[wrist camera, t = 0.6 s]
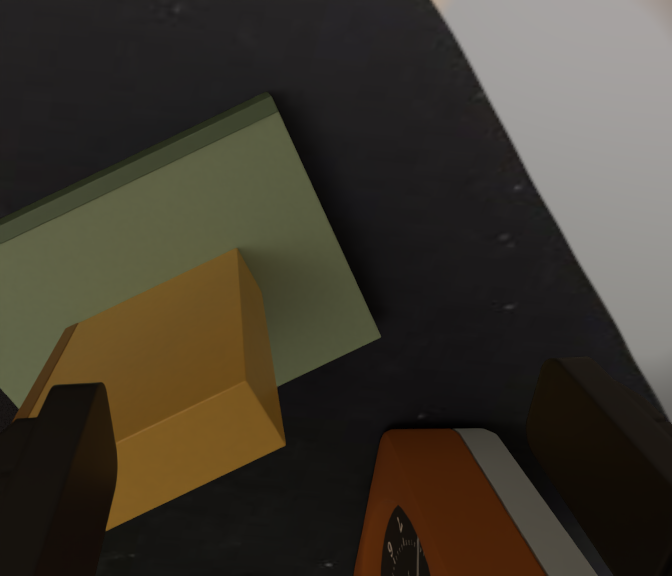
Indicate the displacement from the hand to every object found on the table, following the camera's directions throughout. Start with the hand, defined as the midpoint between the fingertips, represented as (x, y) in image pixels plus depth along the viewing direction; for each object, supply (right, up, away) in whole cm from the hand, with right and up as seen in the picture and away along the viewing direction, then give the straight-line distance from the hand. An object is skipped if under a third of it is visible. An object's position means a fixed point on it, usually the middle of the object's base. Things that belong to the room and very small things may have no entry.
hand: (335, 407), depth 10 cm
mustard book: (-9, +1, +20) cm, 22 cm away
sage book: (-10, +2, +22) cm, 24 cm away
